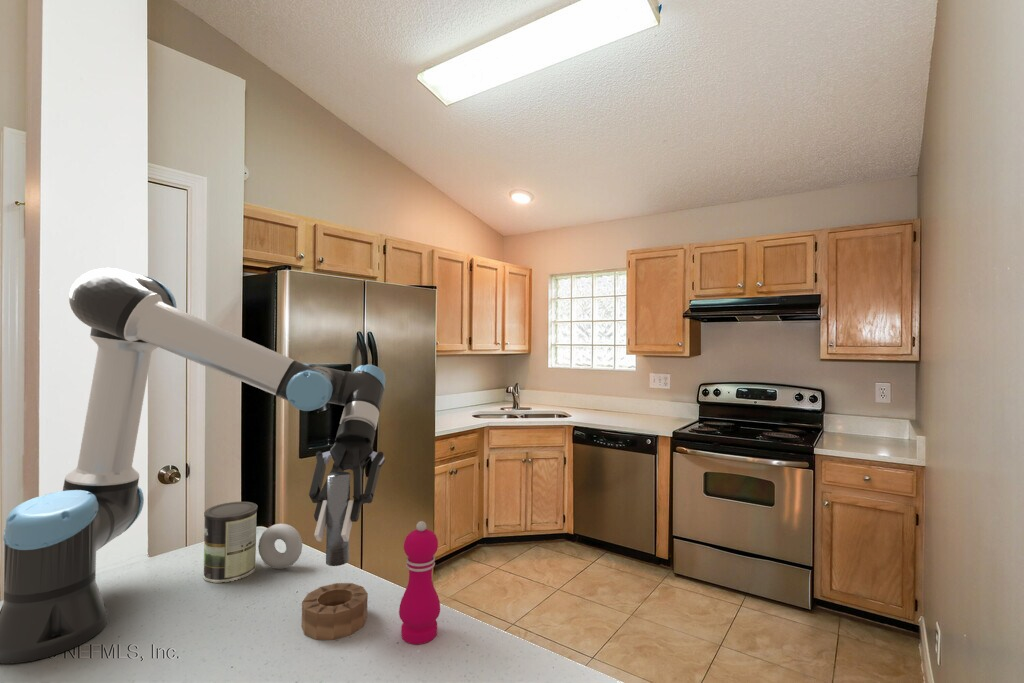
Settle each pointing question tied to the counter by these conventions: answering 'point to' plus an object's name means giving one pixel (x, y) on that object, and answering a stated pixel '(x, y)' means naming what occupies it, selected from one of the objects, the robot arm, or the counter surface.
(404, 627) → the pepper mill
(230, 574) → the coffee can
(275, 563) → the donut
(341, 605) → the bead
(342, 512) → the metal cylinder peg
